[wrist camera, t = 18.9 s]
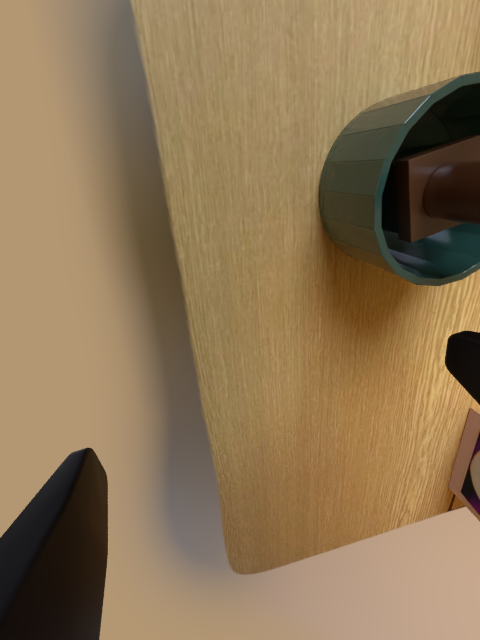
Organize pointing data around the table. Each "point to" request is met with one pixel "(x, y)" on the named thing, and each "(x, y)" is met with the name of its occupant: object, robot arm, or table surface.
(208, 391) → the table surface
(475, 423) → the greeting card
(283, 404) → the table surface
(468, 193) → the brown stamp
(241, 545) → the table surface
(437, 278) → the green and tan cup
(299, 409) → the table surface
